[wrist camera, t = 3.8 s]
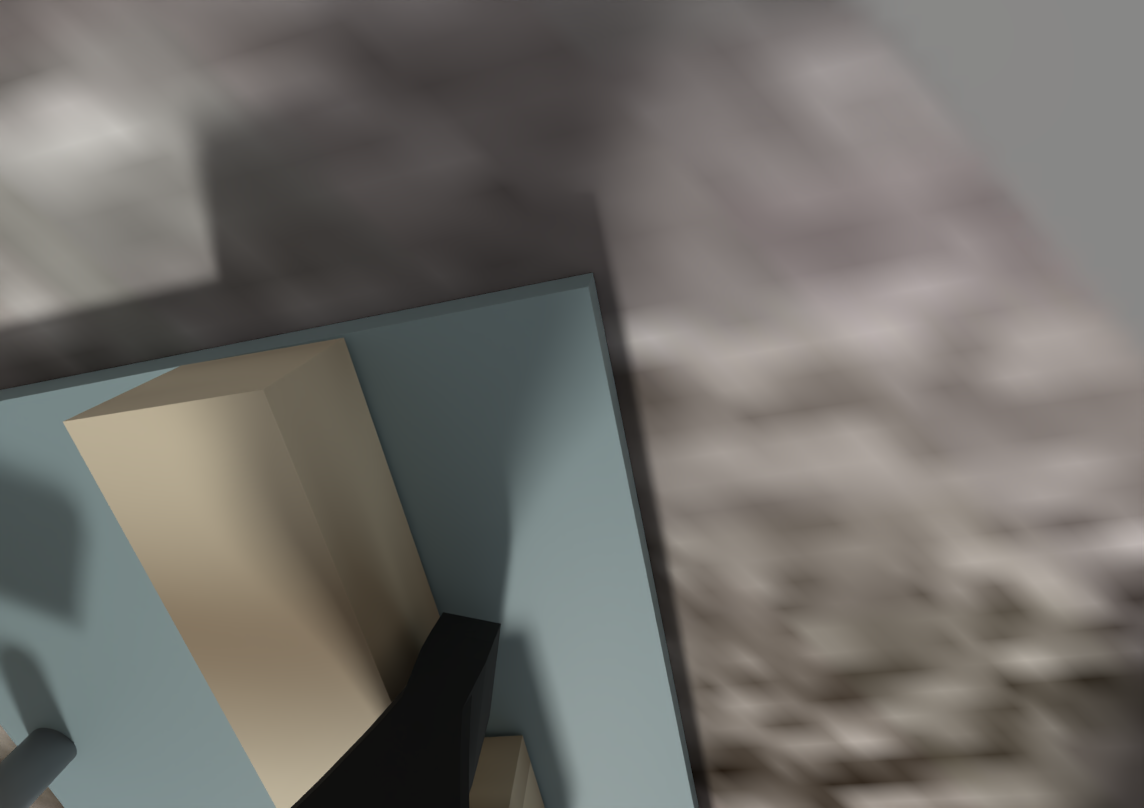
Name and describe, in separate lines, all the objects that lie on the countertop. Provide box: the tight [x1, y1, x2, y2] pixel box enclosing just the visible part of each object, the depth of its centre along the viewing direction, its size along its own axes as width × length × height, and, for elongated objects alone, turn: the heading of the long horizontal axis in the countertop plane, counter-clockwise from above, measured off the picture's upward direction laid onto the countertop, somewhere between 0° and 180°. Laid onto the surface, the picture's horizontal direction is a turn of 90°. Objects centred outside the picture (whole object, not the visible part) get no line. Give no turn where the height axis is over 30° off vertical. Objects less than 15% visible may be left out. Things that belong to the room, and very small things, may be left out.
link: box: [63, 338, 545, 808], centre depth 10 cm, size 12×4×2 cm, turn 11°
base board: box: [0, 273, 699, 808], centre depth 11 cm, size 14×14×3 cm
